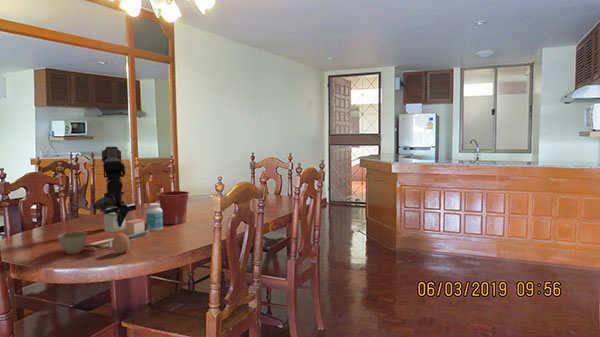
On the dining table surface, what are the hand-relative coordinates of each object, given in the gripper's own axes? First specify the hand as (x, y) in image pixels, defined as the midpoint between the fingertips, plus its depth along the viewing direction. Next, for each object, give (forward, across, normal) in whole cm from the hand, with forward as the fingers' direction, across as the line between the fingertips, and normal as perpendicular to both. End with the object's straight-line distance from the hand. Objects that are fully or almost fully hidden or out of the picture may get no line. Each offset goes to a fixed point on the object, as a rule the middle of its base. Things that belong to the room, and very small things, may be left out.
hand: (115, 226), depth 171 cm
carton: (+7, 0, +11) cm, 13 cm away
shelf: (+8, -1, +4) cm, 9 cm away
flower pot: (+8, -7, +46) cm, 47 cm away
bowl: (+8, -6, -15) cm, 18 cm away
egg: (+8, +13, -9) cm, 18 cm away
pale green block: (+2, 0, 0) cm, 2 cm away
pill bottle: (+8, -2, +26) cm, 27 cm away
